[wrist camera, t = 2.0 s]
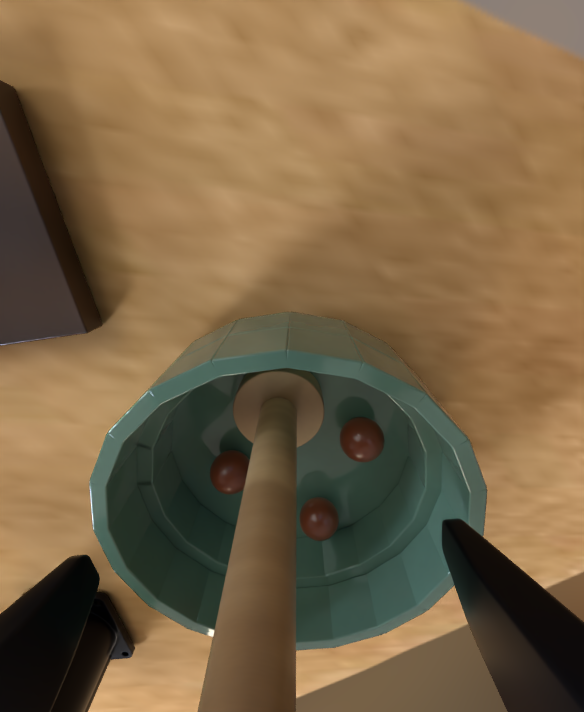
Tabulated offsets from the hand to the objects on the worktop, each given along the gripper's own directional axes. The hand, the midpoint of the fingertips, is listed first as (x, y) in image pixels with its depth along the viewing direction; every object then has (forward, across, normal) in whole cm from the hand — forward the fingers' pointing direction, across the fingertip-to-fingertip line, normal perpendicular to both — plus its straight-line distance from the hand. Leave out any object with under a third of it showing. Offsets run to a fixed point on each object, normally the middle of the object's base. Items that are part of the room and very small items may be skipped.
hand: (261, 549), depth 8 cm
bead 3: (+7, -4, +2) cm, 8 cm away
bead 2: (+7, -1, +6) cm, 9 cm away
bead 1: (+7, +3, +3) cm, 8 cm away
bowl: (+8, 0, +3) cm, 9 cm away
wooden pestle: (+8, 0, 0) cm, 8 cm away
